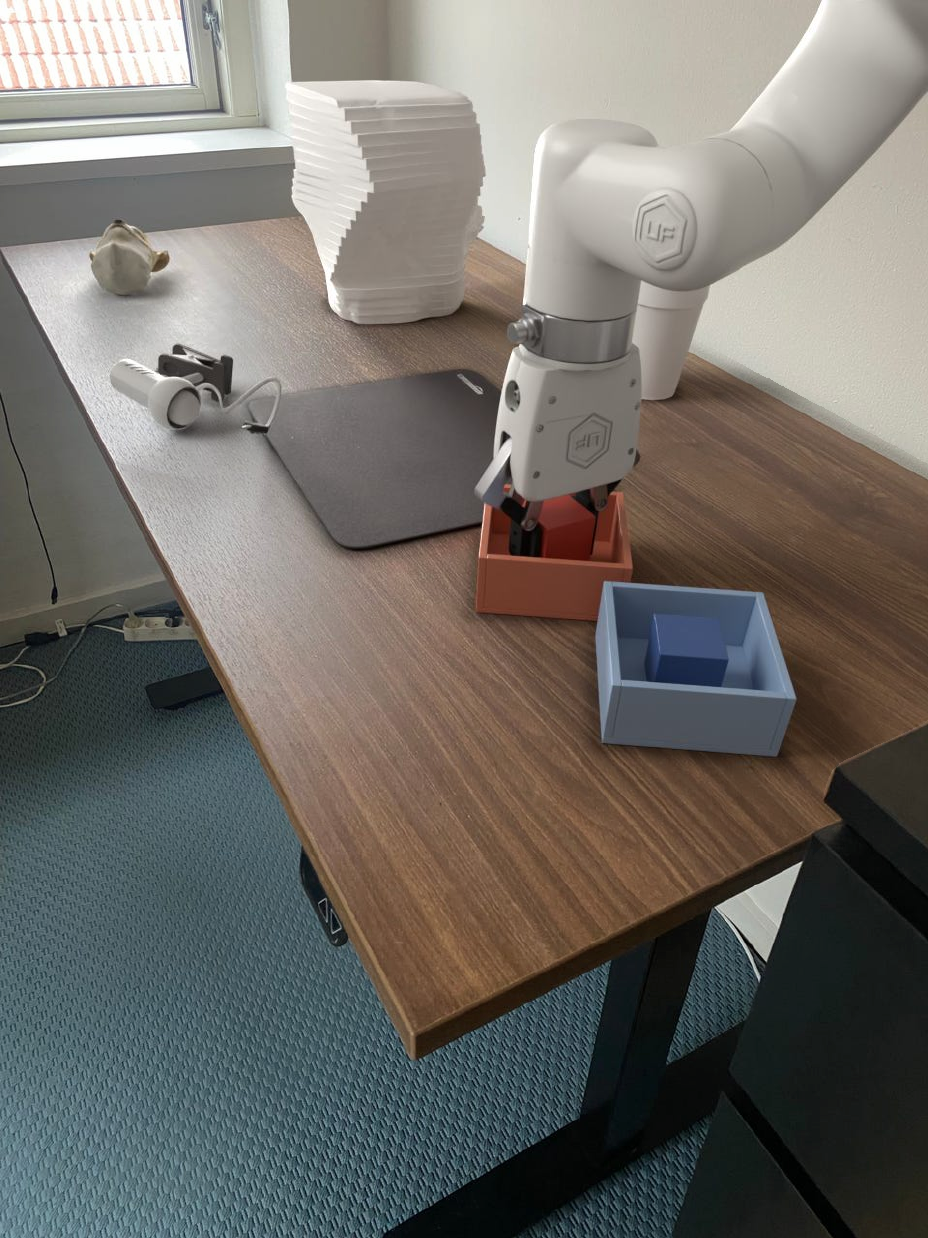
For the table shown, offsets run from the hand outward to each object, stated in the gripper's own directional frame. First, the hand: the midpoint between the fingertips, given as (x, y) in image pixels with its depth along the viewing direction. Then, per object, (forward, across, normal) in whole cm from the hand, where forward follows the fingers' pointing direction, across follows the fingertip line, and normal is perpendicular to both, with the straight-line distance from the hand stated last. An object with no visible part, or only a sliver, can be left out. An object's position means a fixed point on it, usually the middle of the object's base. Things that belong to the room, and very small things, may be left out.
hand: (551, 553), depth 73 cm
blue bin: (+2, 0, -16) cm, 16 cm away
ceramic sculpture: (+3, -12, +85) cm, 86 cm away
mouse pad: (+2, +1, +25) cm, 25 cm away
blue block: (+2, 0, -16) cm, 16 cm away
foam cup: (+2, +31, +26) cm, 41 cm away
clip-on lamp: (+2, -16, +39) cm, 42 cm away
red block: (0, 0, 0) cm, 0 cm away
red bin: (+2, 0, 0) cm, 2 cm away
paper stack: (+2, +18, +60) cm, 63 cm away
